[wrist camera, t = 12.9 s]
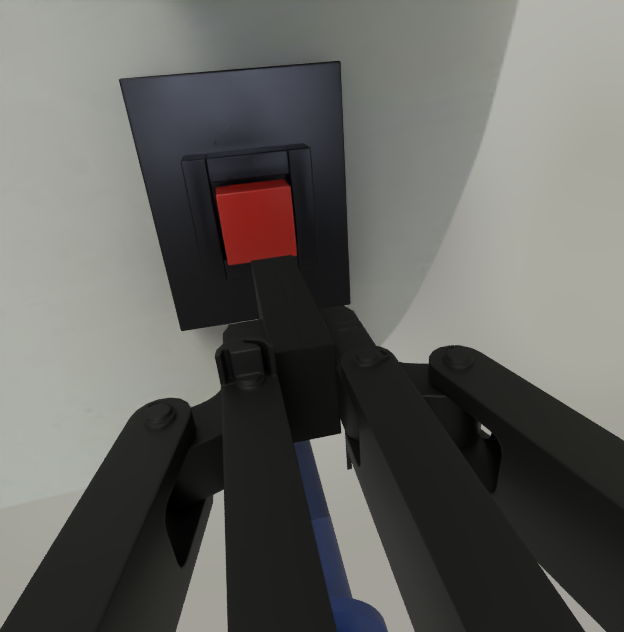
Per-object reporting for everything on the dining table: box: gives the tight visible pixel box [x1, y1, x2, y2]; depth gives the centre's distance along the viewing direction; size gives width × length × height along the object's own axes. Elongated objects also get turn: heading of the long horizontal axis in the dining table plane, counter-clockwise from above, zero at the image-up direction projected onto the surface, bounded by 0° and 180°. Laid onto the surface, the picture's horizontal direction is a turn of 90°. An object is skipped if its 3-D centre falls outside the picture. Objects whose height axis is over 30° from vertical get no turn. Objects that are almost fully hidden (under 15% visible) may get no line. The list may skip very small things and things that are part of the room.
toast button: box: [216, 179, 297, 265], centre depth 23 cm, size 4×4×2 cm
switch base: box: [119, 61, 351, 331], centre depth 26 cm, size 14×11×5 cm
